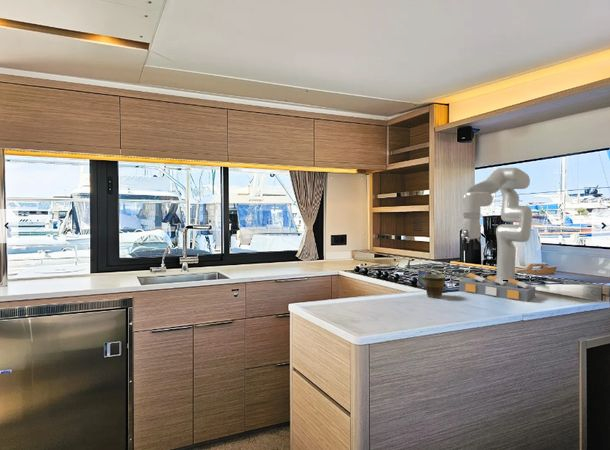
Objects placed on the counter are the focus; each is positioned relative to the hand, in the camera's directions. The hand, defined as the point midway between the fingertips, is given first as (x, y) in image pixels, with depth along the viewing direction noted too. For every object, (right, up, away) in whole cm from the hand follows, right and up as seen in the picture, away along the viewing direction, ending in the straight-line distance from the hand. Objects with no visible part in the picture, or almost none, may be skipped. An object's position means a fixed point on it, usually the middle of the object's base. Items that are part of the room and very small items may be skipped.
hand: (470, 250), depth 214 cm
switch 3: (+17, -15, -13) cm, 26 cm away
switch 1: (+3, -14, +1) cm, 15 cm away
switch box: (+10, -21, -6) cm, 24 cm away
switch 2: (+10, -15, -6) cm, 19 cm away
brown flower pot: (-23, -22, -10) cm, 33 cm away
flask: (-21, -20, +10) cm, 31 cm away
